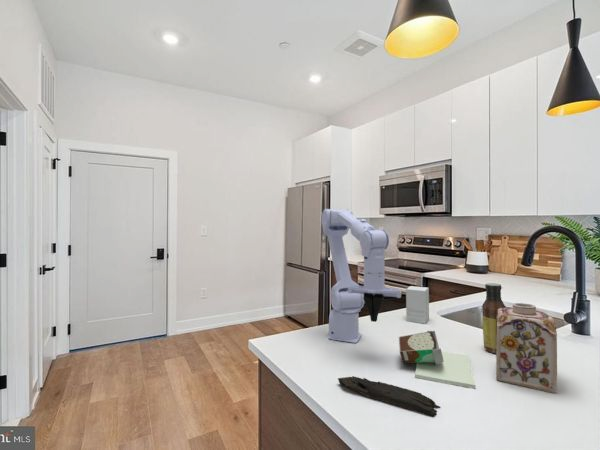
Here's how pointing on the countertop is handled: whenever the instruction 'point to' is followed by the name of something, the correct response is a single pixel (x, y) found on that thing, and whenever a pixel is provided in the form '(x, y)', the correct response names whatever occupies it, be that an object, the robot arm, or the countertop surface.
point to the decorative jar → (526, 347)
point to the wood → (392, 395)
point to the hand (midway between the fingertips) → (374, 320)
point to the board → (448, 370)
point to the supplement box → (417, 304)
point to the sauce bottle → (491, 315)
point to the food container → (420, 348)
